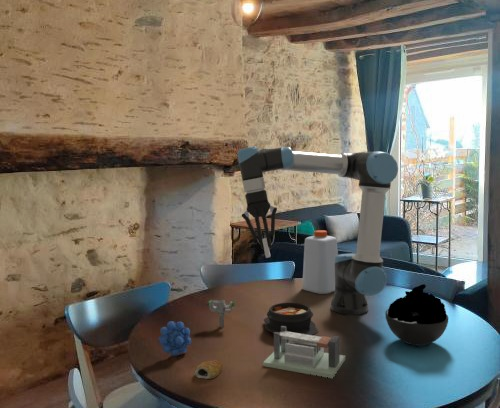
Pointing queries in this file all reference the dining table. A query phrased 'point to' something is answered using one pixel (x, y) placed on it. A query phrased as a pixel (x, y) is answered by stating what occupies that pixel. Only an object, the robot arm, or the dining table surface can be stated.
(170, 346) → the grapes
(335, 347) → the heat sink
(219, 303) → the mechanical component
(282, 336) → the retention strap
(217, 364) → the pastry
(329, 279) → the plastic bottle
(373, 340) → the dining table surface
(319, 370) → the circuit board
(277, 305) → the casserole
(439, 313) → the coal bowl
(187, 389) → the dining table surface
